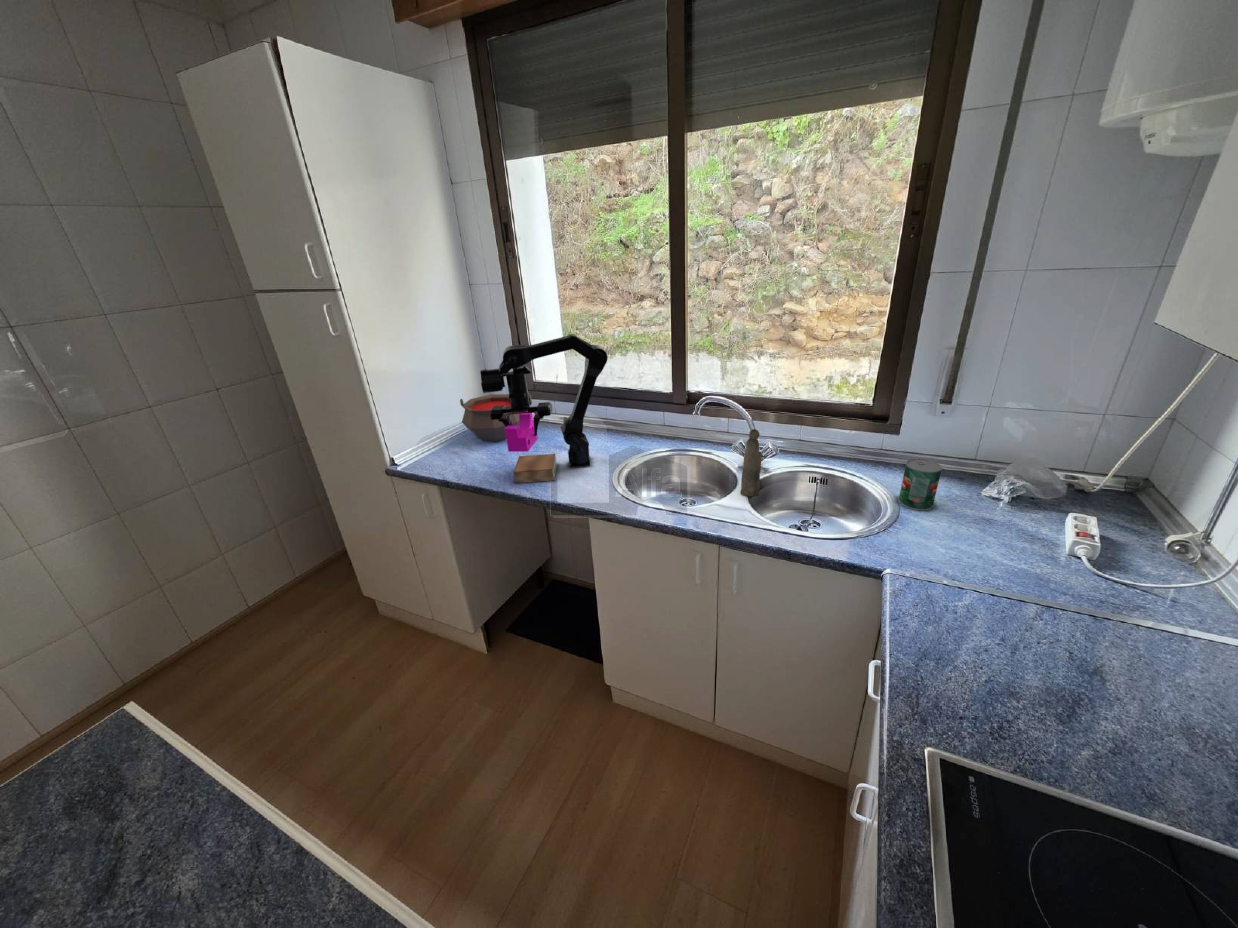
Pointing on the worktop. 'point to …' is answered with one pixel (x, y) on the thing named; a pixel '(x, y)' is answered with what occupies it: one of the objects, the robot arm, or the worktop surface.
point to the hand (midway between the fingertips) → (525, 436)
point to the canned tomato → (919, 484)
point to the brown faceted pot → (486, 417)
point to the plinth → (535, 468)
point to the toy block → (521, 434)
